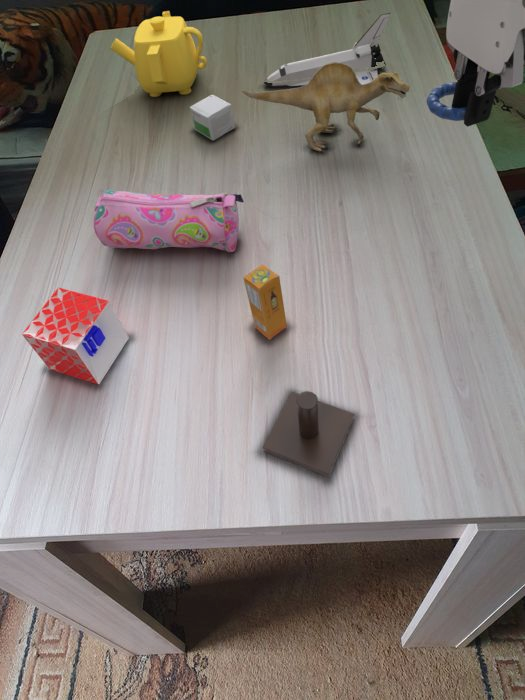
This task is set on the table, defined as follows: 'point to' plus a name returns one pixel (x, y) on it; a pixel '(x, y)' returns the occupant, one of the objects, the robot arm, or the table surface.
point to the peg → (309, 433)
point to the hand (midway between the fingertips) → (469, 115)
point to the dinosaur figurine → (335, 97)
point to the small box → (212, 117)
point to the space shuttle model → (337, 60)
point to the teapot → (164, 54)
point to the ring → (440, 108)
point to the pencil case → (167, 220)
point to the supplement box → (266, 301)
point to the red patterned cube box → (77, 335)
